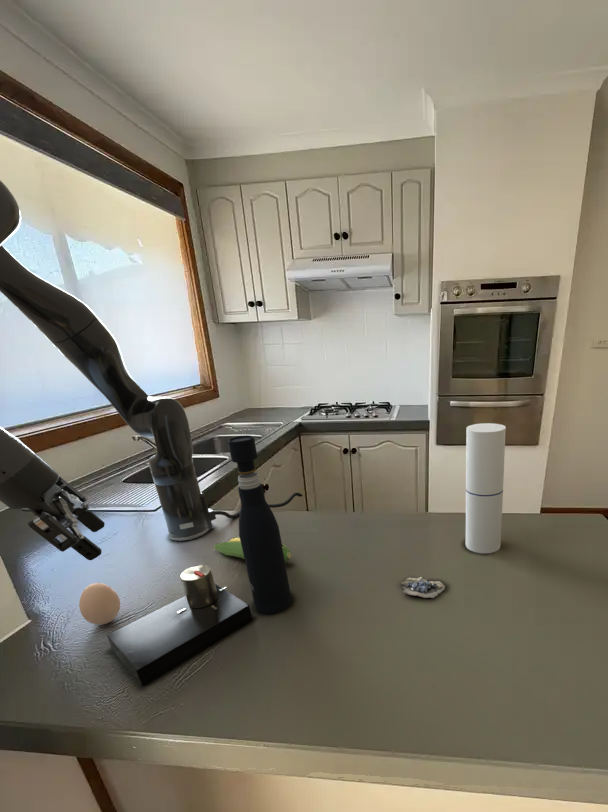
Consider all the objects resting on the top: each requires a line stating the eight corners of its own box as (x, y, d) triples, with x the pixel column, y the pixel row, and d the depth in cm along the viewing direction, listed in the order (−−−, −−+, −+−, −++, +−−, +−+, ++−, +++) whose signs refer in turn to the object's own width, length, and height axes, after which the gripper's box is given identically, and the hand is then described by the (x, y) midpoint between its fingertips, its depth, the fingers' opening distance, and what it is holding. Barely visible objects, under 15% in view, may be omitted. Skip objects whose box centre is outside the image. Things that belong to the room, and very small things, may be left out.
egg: (92, 616, 75) (77, 580, 72) (127, 607, 77) (114, 572, 74) (83, 636, 70) (67, 598, 67) (122, 626, 72) (108, 589, 69)
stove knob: (183, 602, 72) (174, 573, 70) (208, 588, 76) (200, 560, 73) (197, 611, 69) (188, 582, 67) (223, 597, 73) (215, 568, 70)
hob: (217, 593, 79) (213, 578, 78) (255, 618, 71) (251, 602, 70) (111, 648, 67) (105, 633, 66) (142, 687, 59) (135, 669, 58)
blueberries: (398, 580, 79) (397, 571, 78) (440, 575, 79) (440, 567, 78) (404, 602, 72) (403, 593, 72) (449, 596, 73) (449, 587, 72)
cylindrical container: (462, 551, 87) (462, 431, 77) (468, 535, 93) (470, 422, 83) (498, 555, 84) (503, 432, 75) (502, 539, 90) (507, 423, 81)
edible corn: (283, 573, 84) (279, 553, 82) (210, 557, 93) (205, 538, 91) (298, 560, 88) (295, 541, 87) (227, 546, 97) (222, 528, 95)
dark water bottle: (298, 594, 77) (270, 433, 65) (279, 616, 71) (245, 444, 60) (267, 590, 79) (235, 433, 68) (247, 611, 73) (209, 443, 62)
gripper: (22, 474, 54) (118, 552, 64) (41, 436, 65) (120, 508, 75) (-34, 507, 53) (72, 581, 63) (-5, 463, 64) (81, 532, 74)
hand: (98, 541), depth 69 cm, fingers open, 8 cm apart
